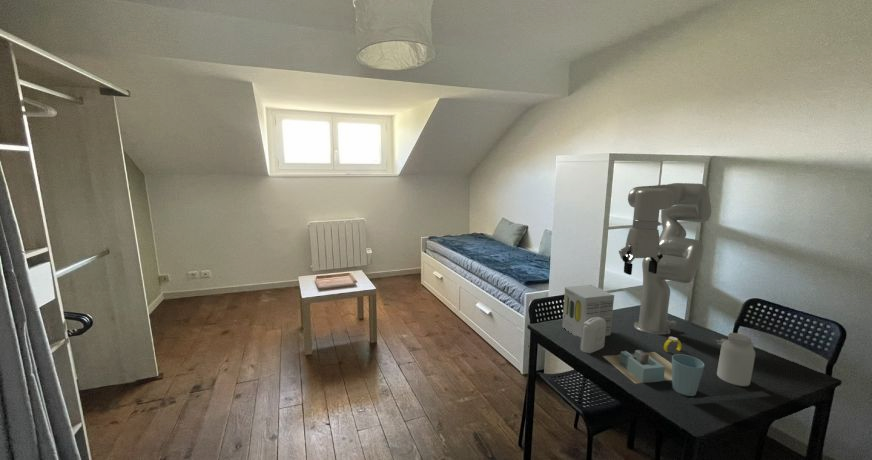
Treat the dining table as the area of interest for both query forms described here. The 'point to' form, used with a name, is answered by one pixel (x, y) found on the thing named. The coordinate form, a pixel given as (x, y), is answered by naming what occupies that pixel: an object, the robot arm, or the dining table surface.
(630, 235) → the robot arm
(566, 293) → the supplement box
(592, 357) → the dining table surface
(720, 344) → the power adapter
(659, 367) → the u-shaped channel block
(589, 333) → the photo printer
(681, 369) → the cup
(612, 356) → the board
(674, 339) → the watch
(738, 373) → the pill bottle
